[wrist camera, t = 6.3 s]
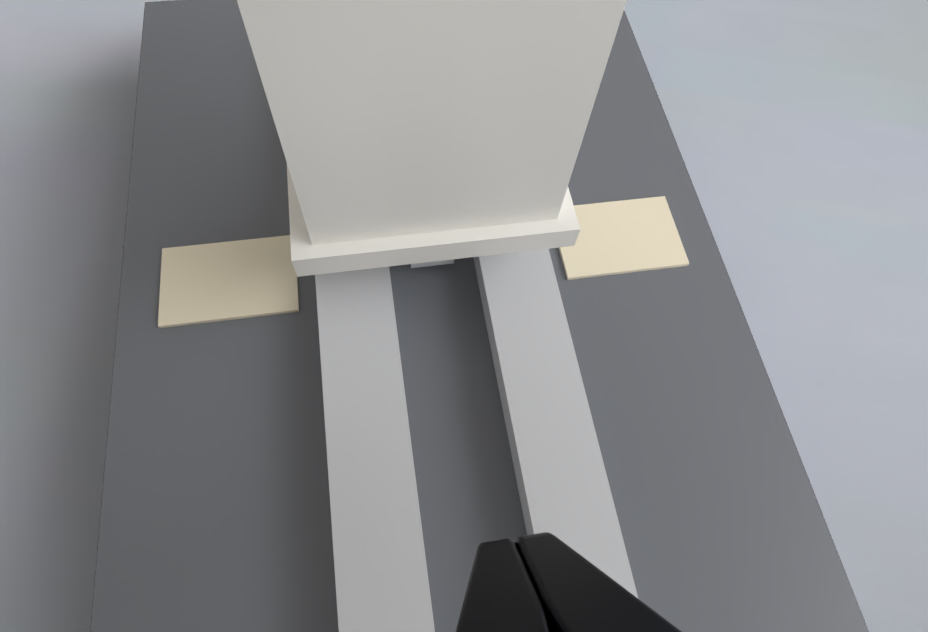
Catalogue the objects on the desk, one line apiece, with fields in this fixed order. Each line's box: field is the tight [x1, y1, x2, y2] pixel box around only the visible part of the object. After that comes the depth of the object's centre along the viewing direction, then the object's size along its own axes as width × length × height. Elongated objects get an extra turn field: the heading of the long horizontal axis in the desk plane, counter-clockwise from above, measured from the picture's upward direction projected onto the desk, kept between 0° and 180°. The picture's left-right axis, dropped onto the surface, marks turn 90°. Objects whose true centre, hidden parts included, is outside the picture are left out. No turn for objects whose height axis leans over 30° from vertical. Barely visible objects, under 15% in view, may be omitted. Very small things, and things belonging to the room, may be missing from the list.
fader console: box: [90, 0, 869, 632], centre depth 13 cm, size 30×14×3 cm, turn 9°
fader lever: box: [237, 0, 627, 277], centre depth 11 cm, size 3×6×9 cm, turn 99°
